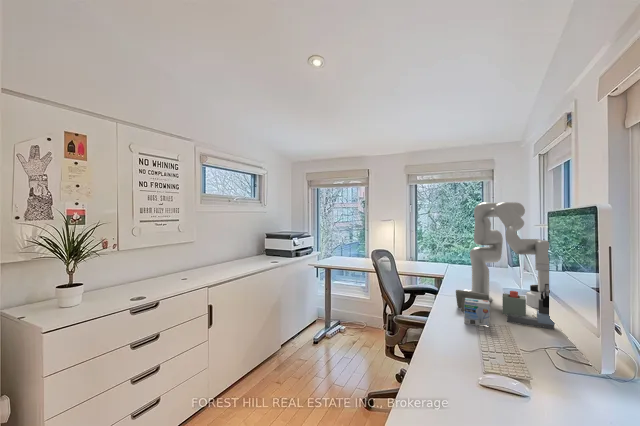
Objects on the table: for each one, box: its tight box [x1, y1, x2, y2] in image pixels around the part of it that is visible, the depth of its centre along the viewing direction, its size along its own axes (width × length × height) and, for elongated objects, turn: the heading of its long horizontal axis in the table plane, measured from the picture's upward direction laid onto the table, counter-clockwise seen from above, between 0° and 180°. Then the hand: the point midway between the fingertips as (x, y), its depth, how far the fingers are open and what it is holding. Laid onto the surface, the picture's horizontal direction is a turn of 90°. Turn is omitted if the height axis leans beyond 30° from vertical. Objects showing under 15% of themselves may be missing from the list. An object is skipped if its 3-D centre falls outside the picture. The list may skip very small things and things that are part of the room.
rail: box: [506, 313, 555, 331], centre depth 139 cm, size 18×4×3 cm, turn 57°
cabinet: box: [502, 293, 527, 316], centre depth 154 cm, size 10×8×9 cm
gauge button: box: [509, 290, 519, 298], centre depth 154 cm, size 4×4×4 cm
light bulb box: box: [463, 298, 491, 327], centre depth 141 cm, size 11×7×11 cm, turn 62°
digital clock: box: [455, 289, 490, 313], centre depth 159 cm, size 16×9×11 cm, turn 39°
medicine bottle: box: [525, 284, 543, 309], centre depth 167 cm, size 7×7×12 cm
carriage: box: [536, 299, 556, 326], centre depth 136 cm, size 6×7×10 cm
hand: (546, 304), depth 136 cm, fingers open, 9 cm apart
